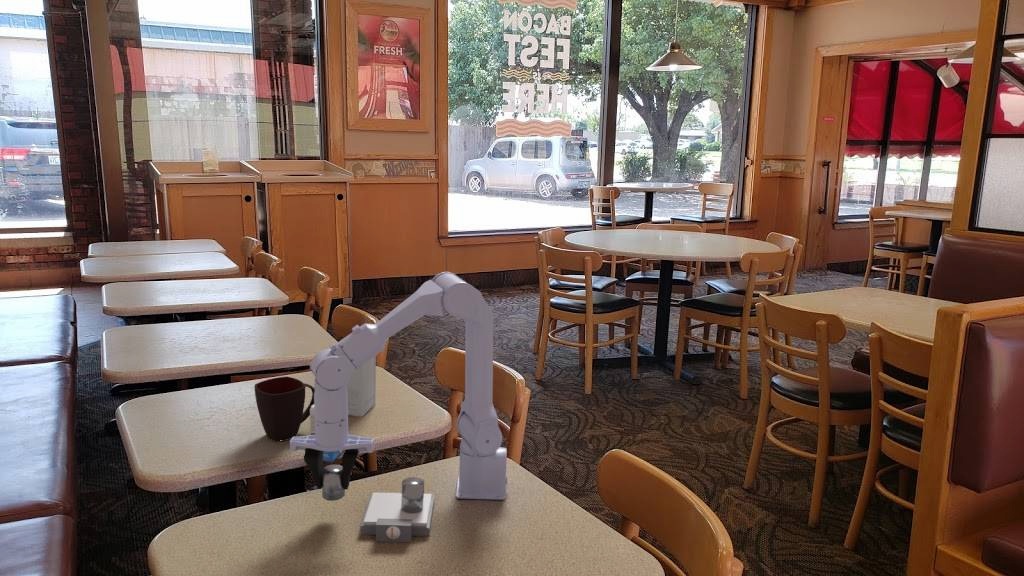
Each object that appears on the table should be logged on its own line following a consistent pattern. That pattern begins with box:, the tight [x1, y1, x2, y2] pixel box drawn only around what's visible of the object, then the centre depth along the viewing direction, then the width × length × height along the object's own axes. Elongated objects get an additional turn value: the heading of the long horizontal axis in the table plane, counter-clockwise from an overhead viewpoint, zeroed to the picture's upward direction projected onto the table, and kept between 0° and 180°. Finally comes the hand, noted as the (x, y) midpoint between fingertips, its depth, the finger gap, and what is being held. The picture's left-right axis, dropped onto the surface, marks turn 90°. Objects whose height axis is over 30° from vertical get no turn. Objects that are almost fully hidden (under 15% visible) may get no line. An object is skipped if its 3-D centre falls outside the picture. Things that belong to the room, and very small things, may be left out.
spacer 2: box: [401, 476, 425, 513], centre depth 133 cm, size 4×4×5 cm
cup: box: [253, 376, 315, 442], centre depth 165 cm, size 10×14×12 cm
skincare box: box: [346, 355, 377, 418], centre depth 179 cm, size 8×6×15 cm
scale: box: [360, 491, 435, 543], centre depth 133 cm, size 12×13×3 cm
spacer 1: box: [321, 464, 346, 502], centre depth 133 cm, size 4×4×5 cm
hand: (333, 486), depth 133 cm, fingers closed on spacer 1, 4 cm apart
